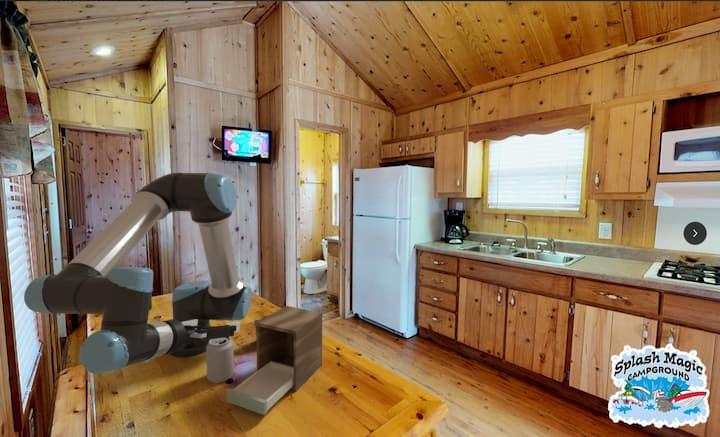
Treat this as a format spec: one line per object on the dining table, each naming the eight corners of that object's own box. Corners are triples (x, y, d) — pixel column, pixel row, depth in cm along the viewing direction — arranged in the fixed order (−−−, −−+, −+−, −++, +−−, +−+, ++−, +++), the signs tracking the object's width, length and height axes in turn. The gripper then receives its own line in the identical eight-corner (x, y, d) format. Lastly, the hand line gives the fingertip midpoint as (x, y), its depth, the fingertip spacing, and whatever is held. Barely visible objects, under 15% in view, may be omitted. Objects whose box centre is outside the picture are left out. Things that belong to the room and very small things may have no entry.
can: (223, 386, 92) (223, 347, 91) (201, 382, 94) (200, 343, 93) (238, 371, 100) (238, 335, 98) (217, 368, 101) (216, 332, 100)
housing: (257, 379, 96) (256, 322, 94) (286, 356, 109) (286, 305, 108) (296, 391, 90) (296, 331, 89) (321, 365, 104) (322, 312, 103)
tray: (226, 401, 84) (226, 390, 83) (269, 367, 100) (269, 358, 99) (264, 415, 79) (264, 403, 79) (303, 377, 95) (303, 367, 95)
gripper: (110, 352, 73) (177, 336, 93) (208, 359, 69) (255, 340, 89) (116, 319, 74) (180, 310, 95) (211, 323, 70) (257, 313, 91)
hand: (217, 325), depth 92 cm, fingers open, 13 cm apart
